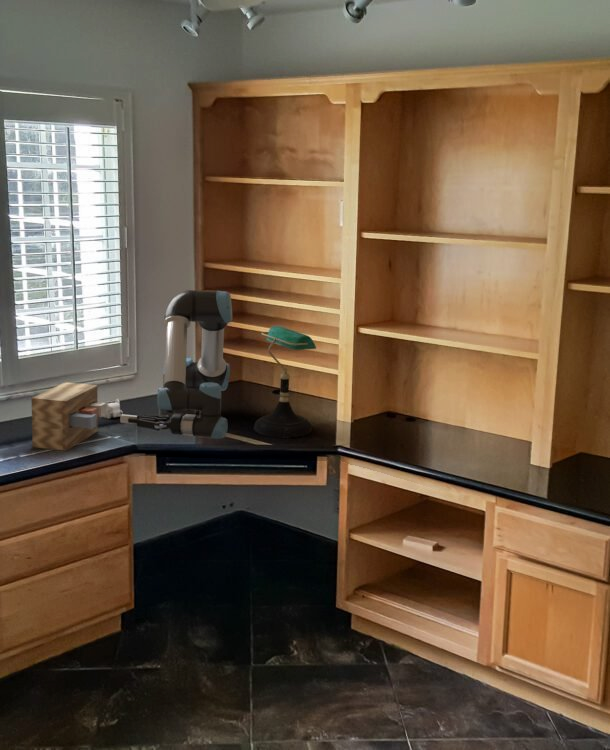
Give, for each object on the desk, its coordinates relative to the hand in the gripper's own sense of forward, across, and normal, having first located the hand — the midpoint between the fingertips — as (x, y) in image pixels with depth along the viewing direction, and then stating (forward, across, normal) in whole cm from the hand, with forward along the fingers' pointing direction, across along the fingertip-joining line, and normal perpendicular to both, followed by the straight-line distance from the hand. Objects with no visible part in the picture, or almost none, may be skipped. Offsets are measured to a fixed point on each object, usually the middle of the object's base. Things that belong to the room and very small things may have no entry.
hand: (121, 418), depth 315 cm
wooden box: (+22, +1, -10) cm, 24 cm away
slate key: (+14, -7, -2) cm, 15 cm away
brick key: (+17, +1, -2) cm, 17 cm away
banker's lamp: (-51, +40, -10) cm, 66 cm away
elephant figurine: (+18, +34, -10) cm, 40 cm away
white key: (+17, +9, -2) cm, 19 cm away
